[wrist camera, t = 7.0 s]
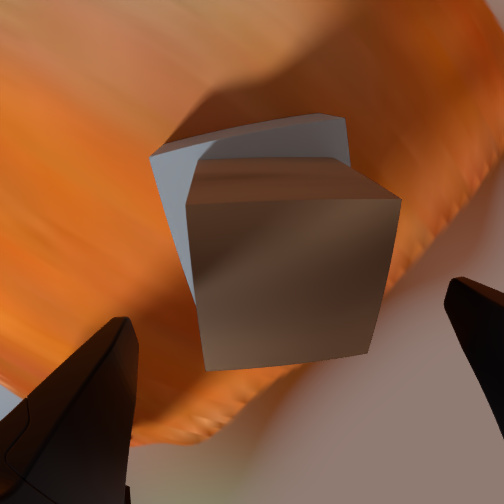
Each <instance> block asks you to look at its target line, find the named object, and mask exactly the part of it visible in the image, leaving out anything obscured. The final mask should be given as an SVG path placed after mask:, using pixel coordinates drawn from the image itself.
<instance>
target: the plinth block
mask: <svg viewBox="0 0 504 504" xmlns="http://www.w3.org/2000/svg"><path fill="white" fill-rule="evenodd" d="M259 157H330V158H335V159H337V160H339V161H341V162H342V163H344V164H346V165H347V166H349V167H351V165H350V155H349V146H348V138H347V130H346V122H345V118H342V117H337V116H332V115H327V114H322V113H315V114H307V115H300V116H294V117H287V118H281V119H275V120H269V121H264V122H258V123H253V124H248V125H243V126H238V127H233V128H228V129H224V130H219V131H215V132H210V133H206V134H202V135H198V136H194V137H190V138H186V139H182V140H178V141H174V142H170V143H167V144H163V145H162V146H161V147H160V148H159V149H158V150H157V151H155V152H154V153H153V154H152V155H151V156H150V157H149V159H150V163H151V166H152V170H153V173H154V177H155V180H156V184H157V187H158V191H159V194H160V198H161V201H162V204H163V208H164V211H165V214H166V218H167V221H168V224H169V227H170V230H171V234H172V237H173V240H174V243H175V246H176V249H177V252H178V255H179V258H180V261H181V264H182V267H183V270H184V273H185V276H186V279H187V282H188V285H189V288H190V291H191V293H192V296H193V299H194V302H195V305H196V301H195V293H194V285H193V277H192V268H191V259H190V250H189V241H188V231H187V220H186V209H185V204H186V200H187V196H188V193H189V189H190V185H191V182H192V178H193V175H194V171H195V168H196V165H197V161H198V160H209V159H229V158H259Z"/></svg>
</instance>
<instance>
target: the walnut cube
mask: <svg viewBox="0 0 504 504" xmlns="http://www.w3.org/2000/svg"><path fill="white" fill-rule="evenodd" d="M401 201H402V199H400V198H399V197H397V196H396V195H394V194H393V193H391V192H390V191H388V190H387V189H385V188H384V187H382V186H380V185H379V184H377V183H376V182H374V181H372V180H371V179H369V178H367V177H366V176H364V175H363V174H361V173H359V172H358V171H356V170H354V169H353V168H351V167H349V166H347V165H346V164H344V163H342V162H341V161H339V160H337V159H335V158H330V157H259V158H229V159H209V160H198V161H197V165H196V168H195V171H194V175H193V178H192V182H191V185H190V189H189V193H188V196H187V200H186V204H185V209H186V220H187V231H188V241H189V250H190V259H191V268H192V277H193V285H194V293H195V301H196V309H197V316H198V323H199V331H200V337H201V344H202V351H203V357H204V364H205V370H206V371H221V370H237V369H250V368H262V367H273V366H282V365H291V364H300V363H308V362H315V361H323V360H330V359H337V358H343V357H349V356H355V355H361V354H367V353H368V349H369V346H370V343H371V340H372V336H373V333H374V329H375V325H376V321H377V318H378V314H379V310H380V306H381V302H382V298H383V294H384V290H385V286H386V281H387V277H388V272H389V268H390V263H391V258H392V253H393V248H394V243H395V237H396V232H397V226H398V220H399V214H400V207H401Z"/></svg>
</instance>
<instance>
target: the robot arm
mask: <svg viewBox="0 0 504 504" xmlns="http://www.w3.org/2000/svg"><path fill="white" fill-rule="evenodd" d="M444 308H445V311H446V313H447V315H448V317H449V319H450V322H451V324H452V326H453V329H454V331H455V333H456V336H457V338H458V340H459V342H460V345H461V347H462V349H463V351H464V353H465V355H466V357H467V359H468V361H469V363H470V365H471V367H472V369H473V371H474V373H475V375H476V377H477V379H478V381H479V383H480V385H481V388H482V390H483V392H484V394H485V396H486V398H487V401H488V403H489V405H490V407H491V409H492V412H493V414H494V417H495V419H496V421H497V424H498V426H499V429H500V431H501V434H502V436H503V439H504V293H502V292H500V291H498V290H495V289H493V288H490V287H488V286H485V285H483V284H481V283H478V282H475V281H473V280H470V279H468V278H465V277H456V278H453V279H451V281H450V283H449V286H448V289H447V293H446V296H445V299H444ZM138 354H139V345H138V340H137V337H136V334H135V331H134V328H133V326H132V323H131V320H130V319H129V318H128V317H114V318H112V319H111V320H110V321H109V322H108V323H107V324H105V325H104V326H103V327H102V328H101V329H100V330H99V331H97V332H96V333H95V334H94V335H93V336H92V337H91V338H90V339H88V340H87V341H86V342H85V343H84V344H83V345H82V346H81V347H80V348H78V349H77V350H76V351H75V352H74V353H73V354H72V355H71V356H70V357H69V358H67V359H66V360H65V361H64V362H63V363H62V364H61V365H60V366H59V367H58V368H57V369H56V370H54V371H53V372H52V373H51V374H50V375H49V376H48V377H47V378H46V379H45V380H44V381H43V382H42V383H40V384H39V385H38V386H37V387H36V388H35V389H34V390H33V391H32V392H31V393H30V394H29V395H28V396H27V398H25V399H23V400H22V402H20V403H19V404H18V405H17V406H16V407H15V408H14V409H13V410H12V411H11V412H10V413H9V414H8V415H7V416H5V417H4V418H3V419H2V420H1V421H0V504H131V500H130V487H129V486H127V485H125V482H126V472H127V463H128V455H129V446H130V439H131V431H132V424H133V417H134V410H135V403H136V392H137V370H138Z"/></svg>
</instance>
